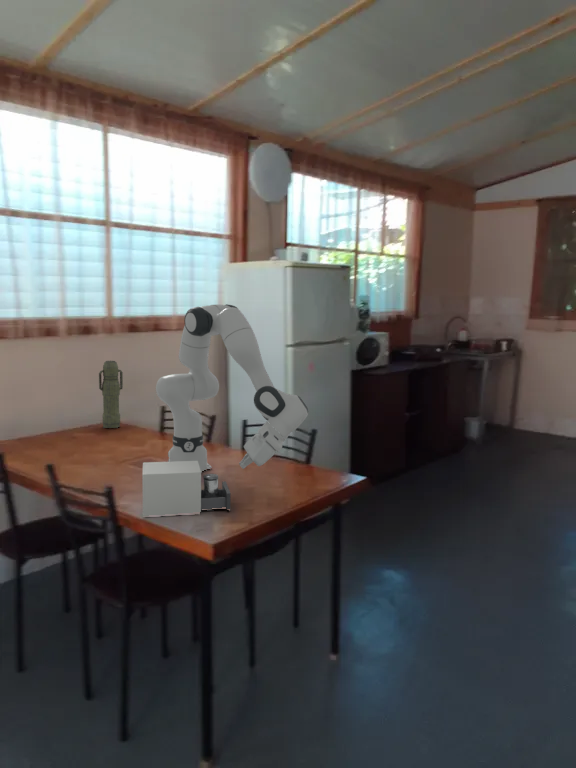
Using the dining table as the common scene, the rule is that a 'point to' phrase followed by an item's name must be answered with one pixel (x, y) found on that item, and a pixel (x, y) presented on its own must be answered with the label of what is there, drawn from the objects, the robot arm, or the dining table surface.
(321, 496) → the dining table surface
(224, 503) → the grey drawer
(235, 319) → the robot arm
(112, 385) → the thermos
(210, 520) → the dining table surface
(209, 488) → the canister
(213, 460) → the dining table surface
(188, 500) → the grey box
